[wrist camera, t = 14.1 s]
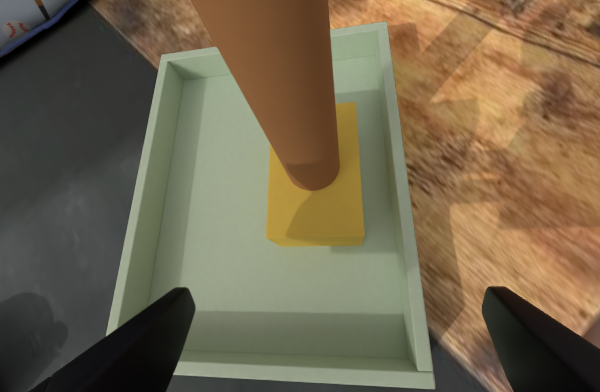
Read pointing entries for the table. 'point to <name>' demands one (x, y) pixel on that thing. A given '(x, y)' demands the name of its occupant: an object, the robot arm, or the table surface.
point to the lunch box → (27, 20)
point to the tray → (264, 253)
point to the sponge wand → (295, 115)
